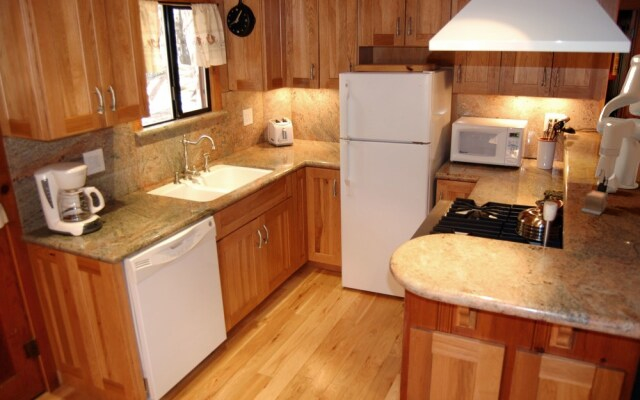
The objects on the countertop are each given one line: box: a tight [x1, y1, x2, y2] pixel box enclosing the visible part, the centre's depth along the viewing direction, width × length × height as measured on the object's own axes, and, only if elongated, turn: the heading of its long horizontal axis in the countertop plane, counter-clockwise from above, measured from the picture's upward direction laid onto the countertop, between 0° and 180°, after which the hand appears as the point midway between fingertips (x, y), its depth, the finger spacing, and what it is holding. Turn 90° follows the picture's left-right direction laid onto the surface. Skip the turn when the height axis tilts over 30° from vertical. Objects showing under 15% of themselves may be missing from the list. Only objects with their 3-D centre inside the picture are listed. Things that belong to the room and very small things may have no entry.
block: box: [583, 189, 609, 212], centre depth 212 cm, size 6×6×8 cm
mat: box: [580, 206, 606, 216], centre depth 212 cm, size 10×7×1 cm
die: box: [596, 174, 622, 194], centre depth 232 cm, size 8×9×10 cm
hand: (601, 193), depth 216 cm, fingers closed
